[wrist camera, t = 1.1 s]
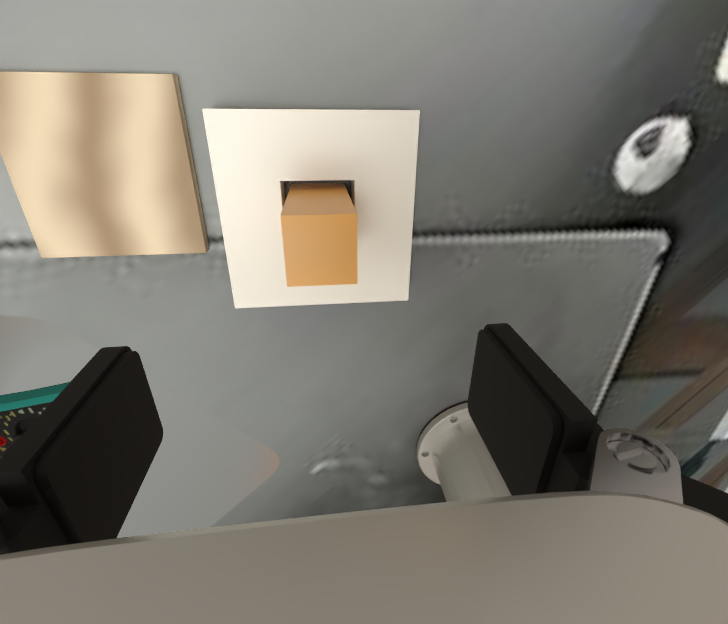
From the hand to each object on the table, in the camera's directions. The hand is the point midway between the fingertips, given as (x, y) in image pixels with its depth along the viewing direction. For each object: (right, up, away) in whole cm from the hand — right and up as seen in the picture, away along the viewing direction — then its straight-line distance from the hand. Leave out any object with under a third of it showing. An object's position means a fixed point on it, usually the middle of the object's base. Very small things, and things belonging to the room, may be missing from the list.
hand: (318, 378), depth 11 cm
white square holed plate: (-2, +10, +20) cm, 22 cm away
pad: (-17, +12, +17) cm, 27 cm away
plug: (-2, +10, +20) cm, 23 cm away
